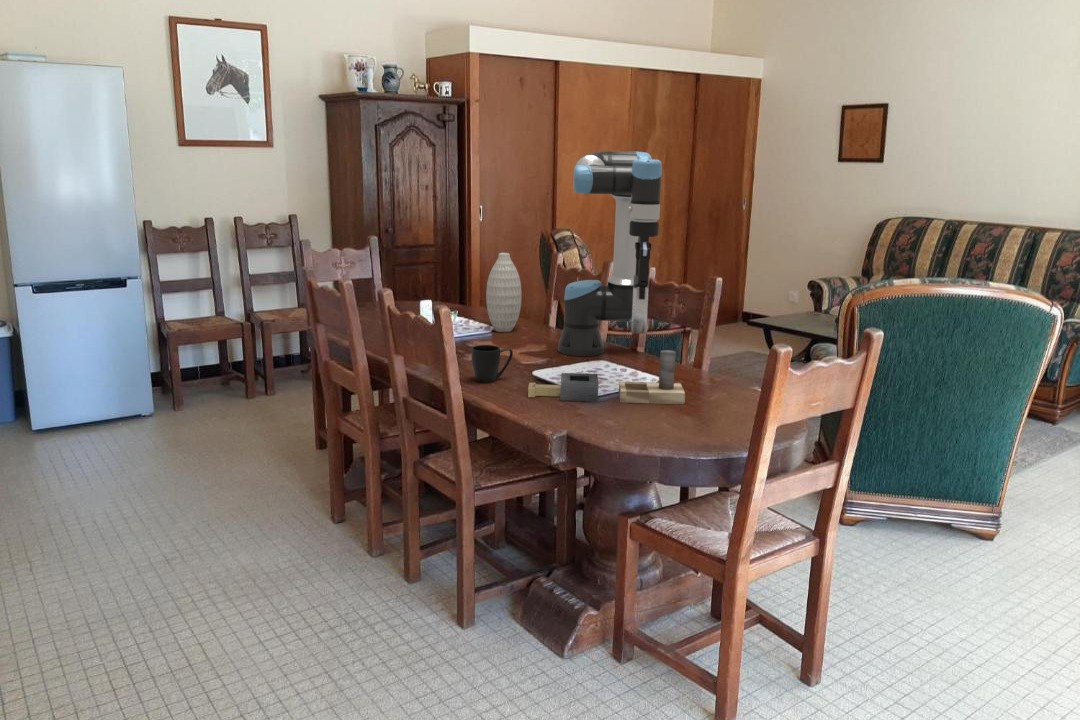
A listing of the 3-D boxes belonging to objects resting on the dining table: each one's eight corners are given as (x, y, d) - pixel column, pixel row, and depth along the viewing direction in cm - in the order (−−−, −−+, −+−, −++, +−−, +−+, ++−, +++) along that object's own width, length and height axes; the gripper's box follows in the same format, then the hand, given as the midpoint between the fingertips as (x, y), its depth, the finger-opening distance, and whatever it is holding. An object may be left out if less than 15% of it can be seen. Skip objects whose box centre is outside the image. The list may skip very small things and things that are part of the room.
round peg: (645, 330, 231) (648, 275, 227) (646, 333, 227) (649, 277, 223) (630, 330, 231) (633, 274, 227) (631, 333, 227) (634, 277, 223)
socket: (560, 390, 239) (561, 372, 238) (596, 391, 239) (597, 373, 237) (560, 400, 229) (560, 382, 228) (597, 401, 229) (598, 383, 228)
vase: (506, 325, 322) (507, 250, 315) (528, 331, 313) (529, 254, 306) (479, 329, 314) (479, 252, 307) (500, 335, 305) (500, 256, 298)
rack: (618, 391, 238) (620, 346, 235) (679, 393, 238) (682, 348, 235) (620, 402, 229) (622, 355, 226) (684, 404, 228) (687, 356, 225)
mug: (515, 382, 246) (516, 350, 244) (474, 384, 243) (474, 352, 240) (508, 374, 254) (509, 343, 251) (469, 377, 250) (469, 345, 248)
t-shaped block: (529, 391, 237) (529, 382, 237) (568, 392, 237) (569, 383, 236) (528, 397, 231) (528, 388, 231) (568, 398, 231) (569, 389, 231)
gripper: (627, 217, 230) (624, 303, 236) (632, 223, 214) (627, 315, 219) (655, 218, 230) (651, 304, 236) (662, 223, 213) (657, 316, 219)
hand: (640, 309), depth 227 cm, fingers closed on round peg, 4 cm apart
